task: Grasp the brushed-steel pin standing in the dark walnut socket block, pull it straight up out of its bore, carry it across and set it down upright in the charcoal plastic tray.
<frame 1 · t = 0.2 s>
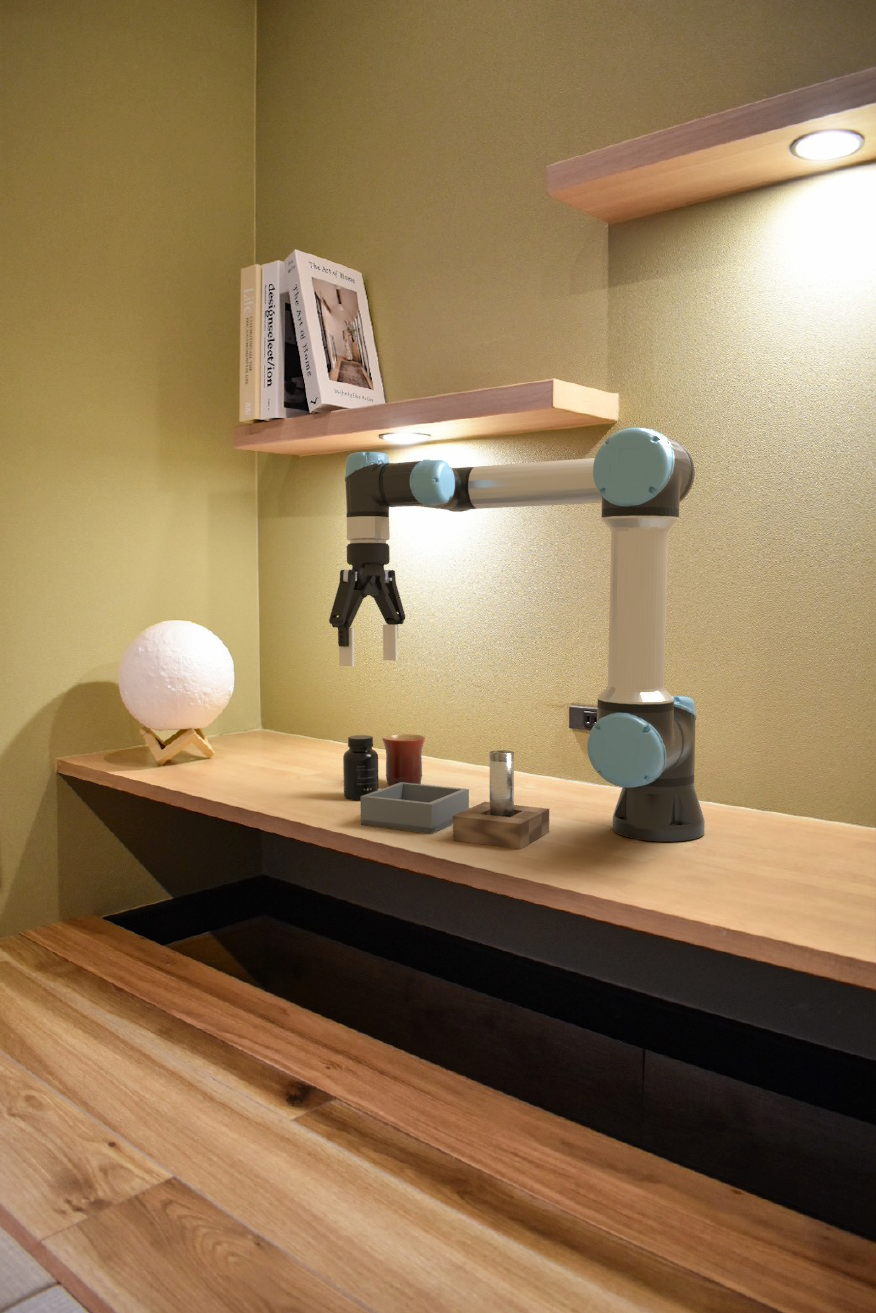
hand: (369, 663, 180), 28 cm above the worktop, fingers open, 13 cm apart
mug: (401, 786, 210), on the worktop
supplement bottle: (361, 798, 198), on the worktop
pin: (501, 794, 167), in the socket block
socket block: (501, 836, 168), on the worktop
tray: (415, 820, 179), on the worktop
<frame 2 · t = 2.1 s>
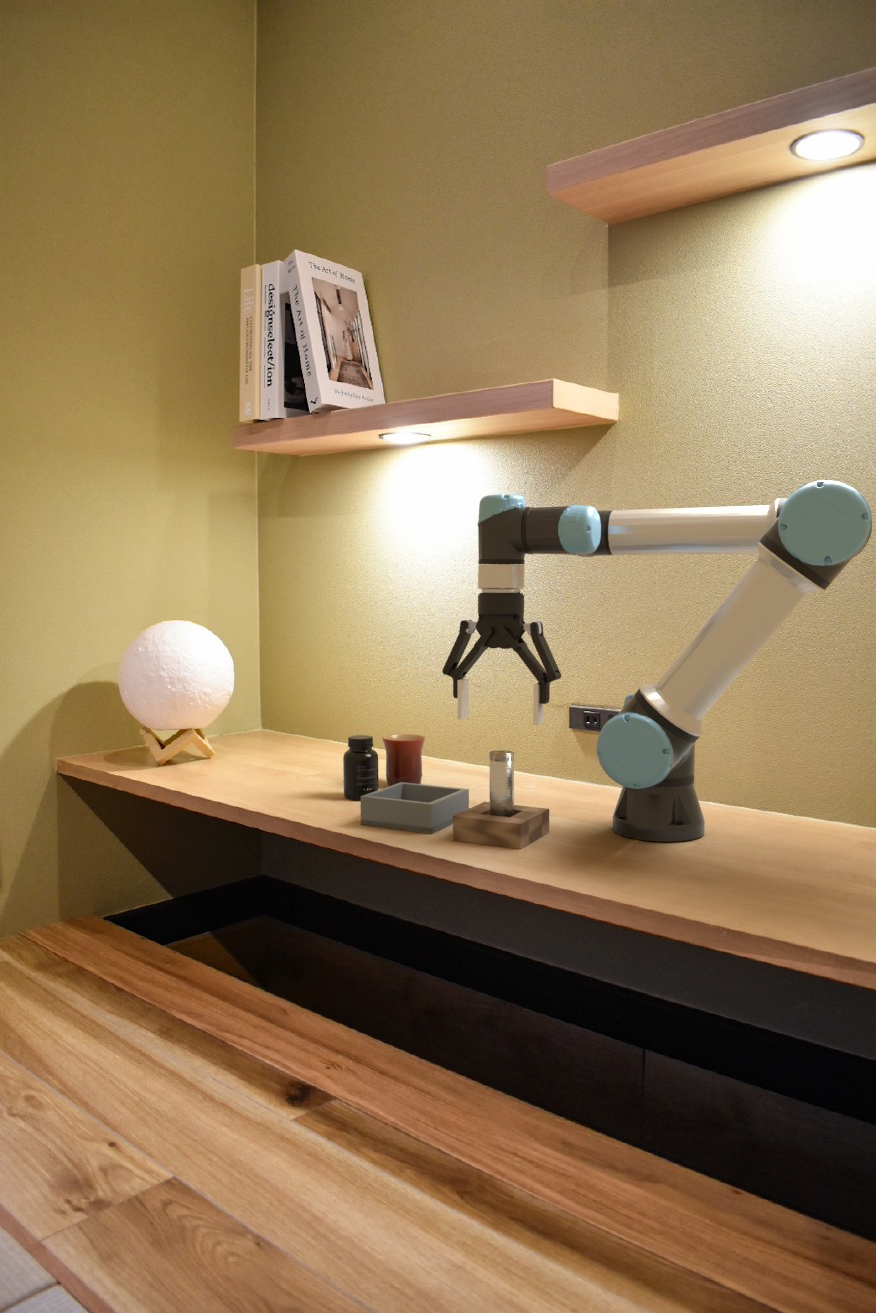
hand: (500, 721, 167), 19 cm above the worktop, fingers open, 13 cm apart
nothing on the worktop moved.
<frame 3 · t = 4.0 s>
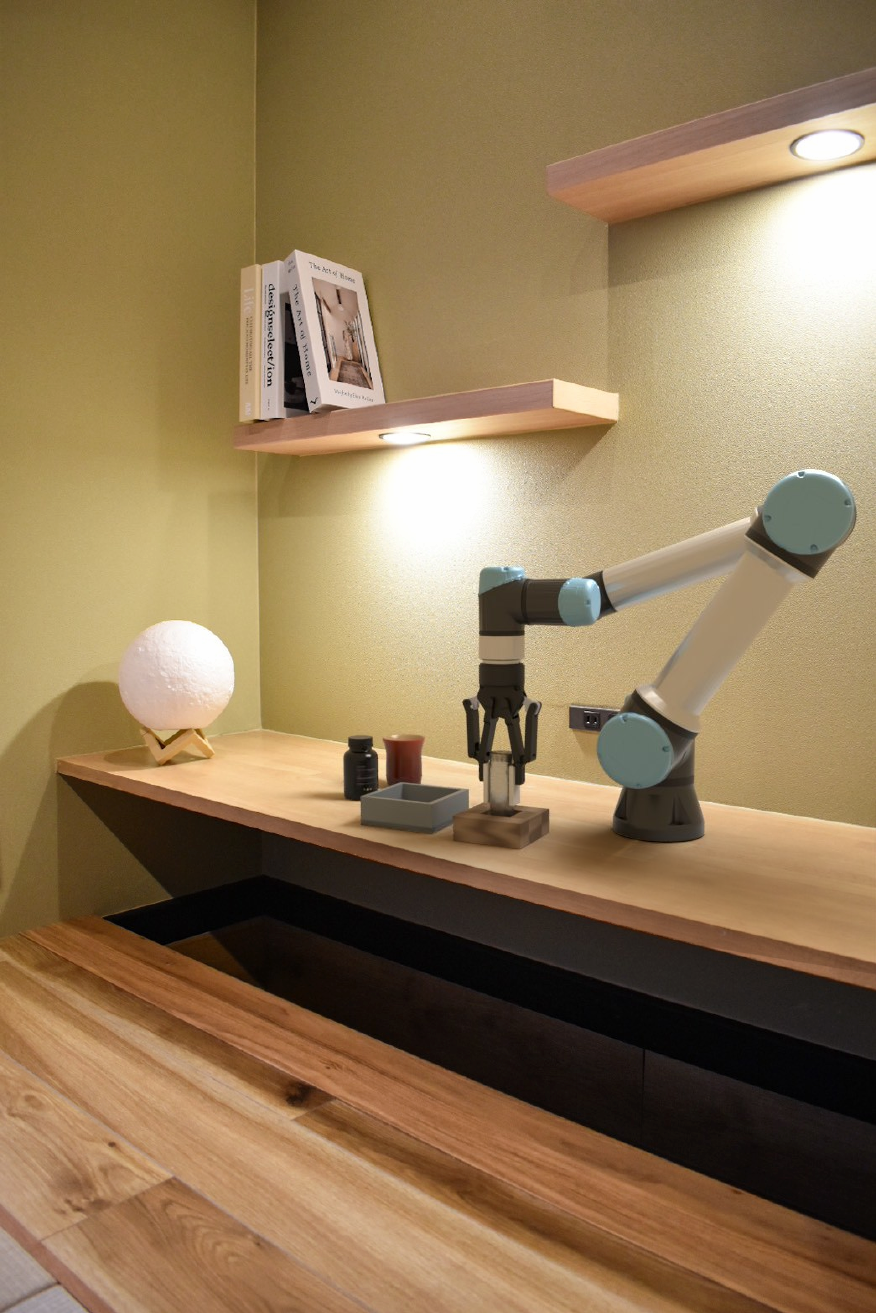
hand: (501, 802, 167), 6 cm above the worktop, fingers closed on pin, 4 cm apart
pin: (501, 794, 167), in the socket block, touching gripper
everything else where it was.
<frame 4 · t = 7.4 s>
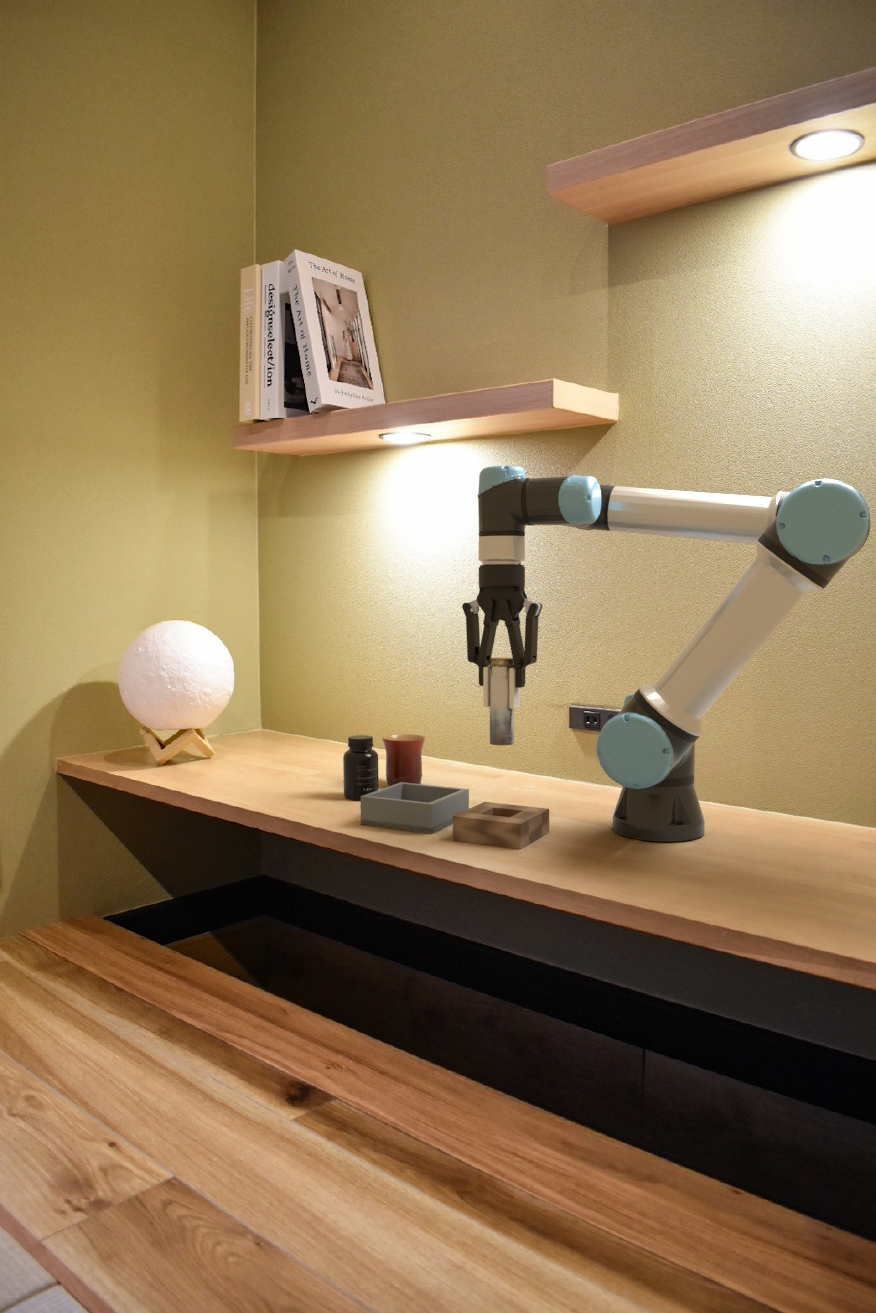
hand: (501, 706, 166), 22 cm above the worktop, fingers closed on pin, 4 cm apart
pin: (501, 701, 166), point 22 cm above the worktop, touching gripper
everything else where it was.
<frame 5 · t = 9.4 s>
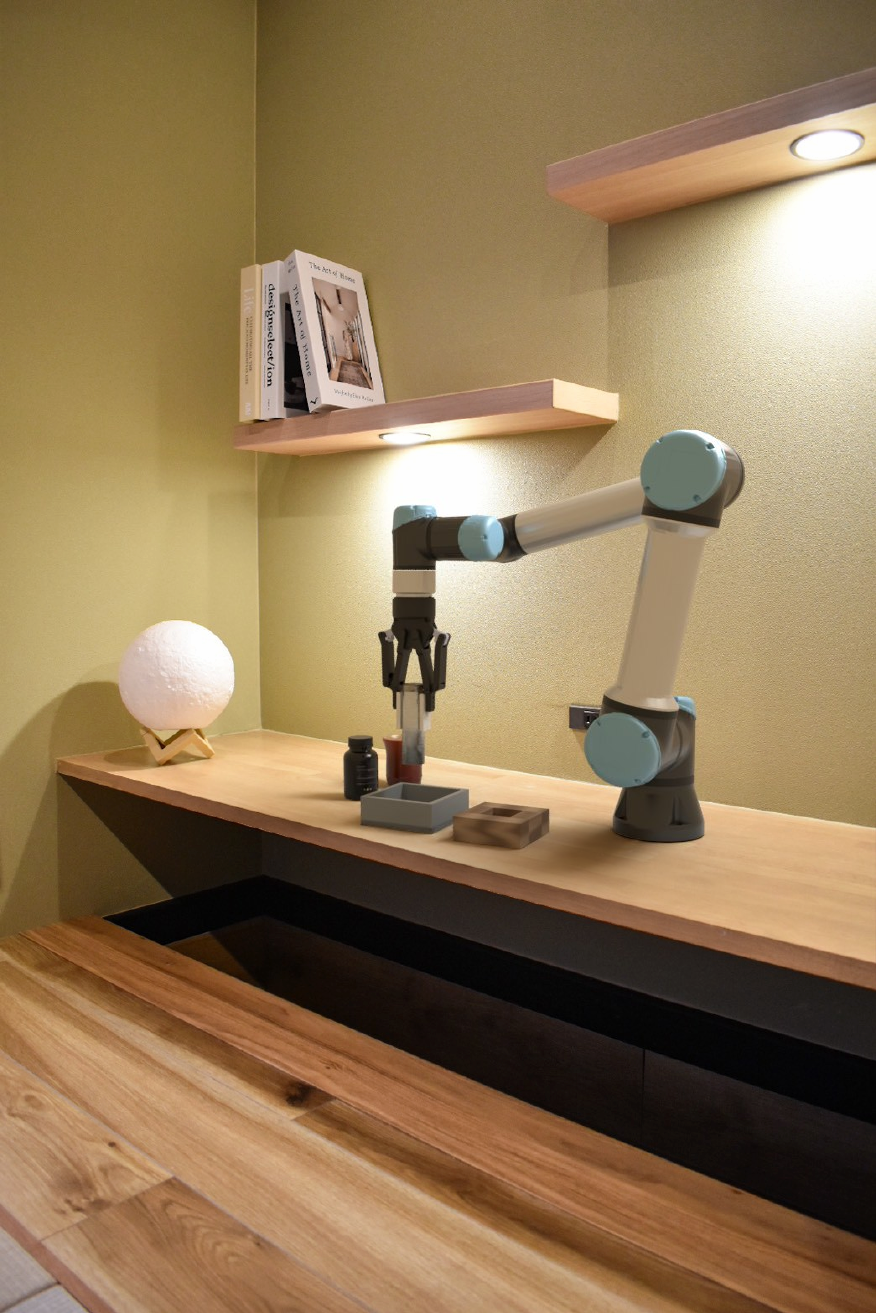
hand: (413, 728, 178), 16 cm above the worktop, fingers closed on pin, 4 cm apart
pin: (413, 723, 178), point 17 cm above the worktop, touching gripper
everything else where it was.
when the fingers open (8 cm above the worktop, at t = 11.0 s): pin stays where it is, resting on tray.
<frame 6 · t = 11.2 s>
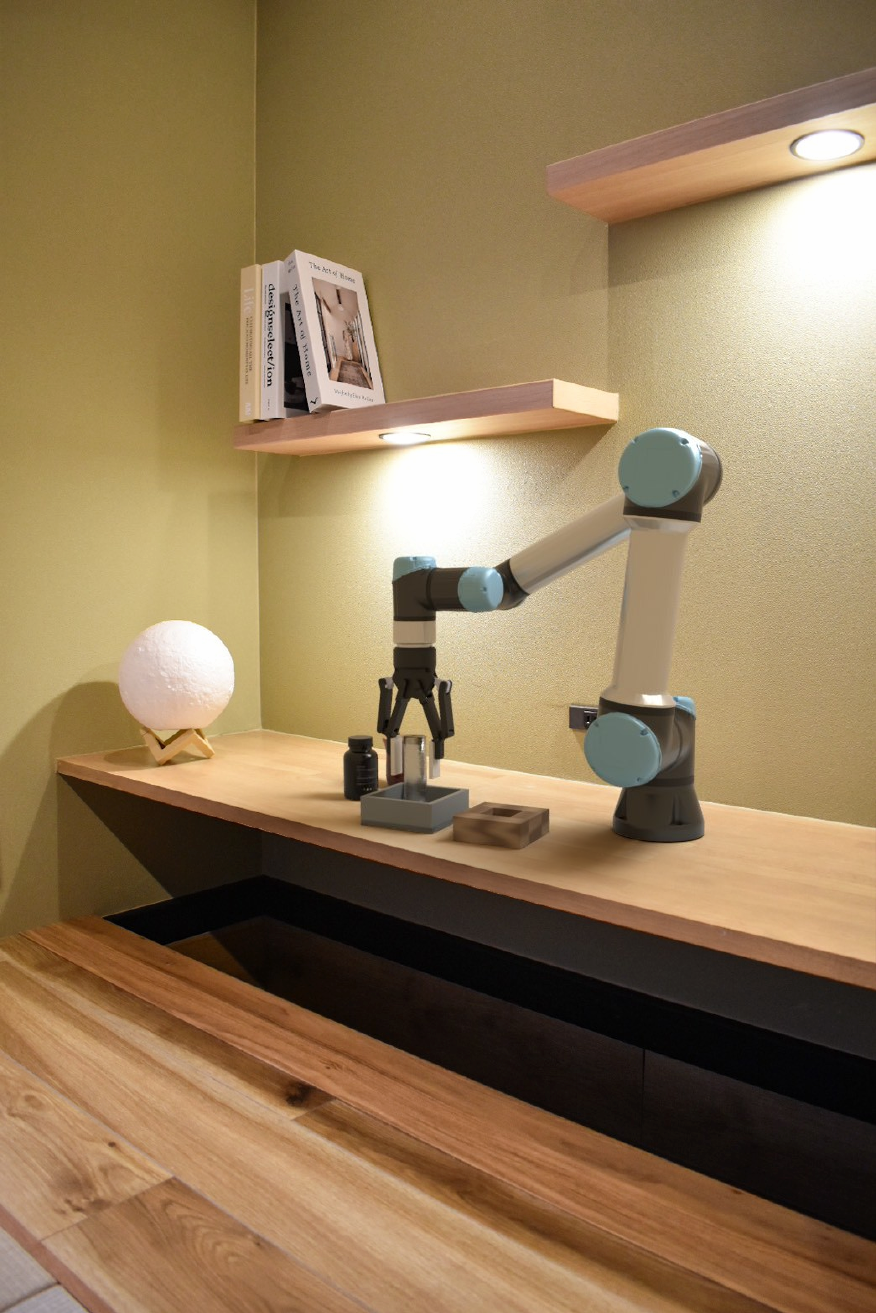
hand: (415, 775, 178), 8 cm above the worktop, fingers open, 7 cm apart
pin: (415, 775, 178), in the tray, point 8 cm above the worktop
everything else where it was.
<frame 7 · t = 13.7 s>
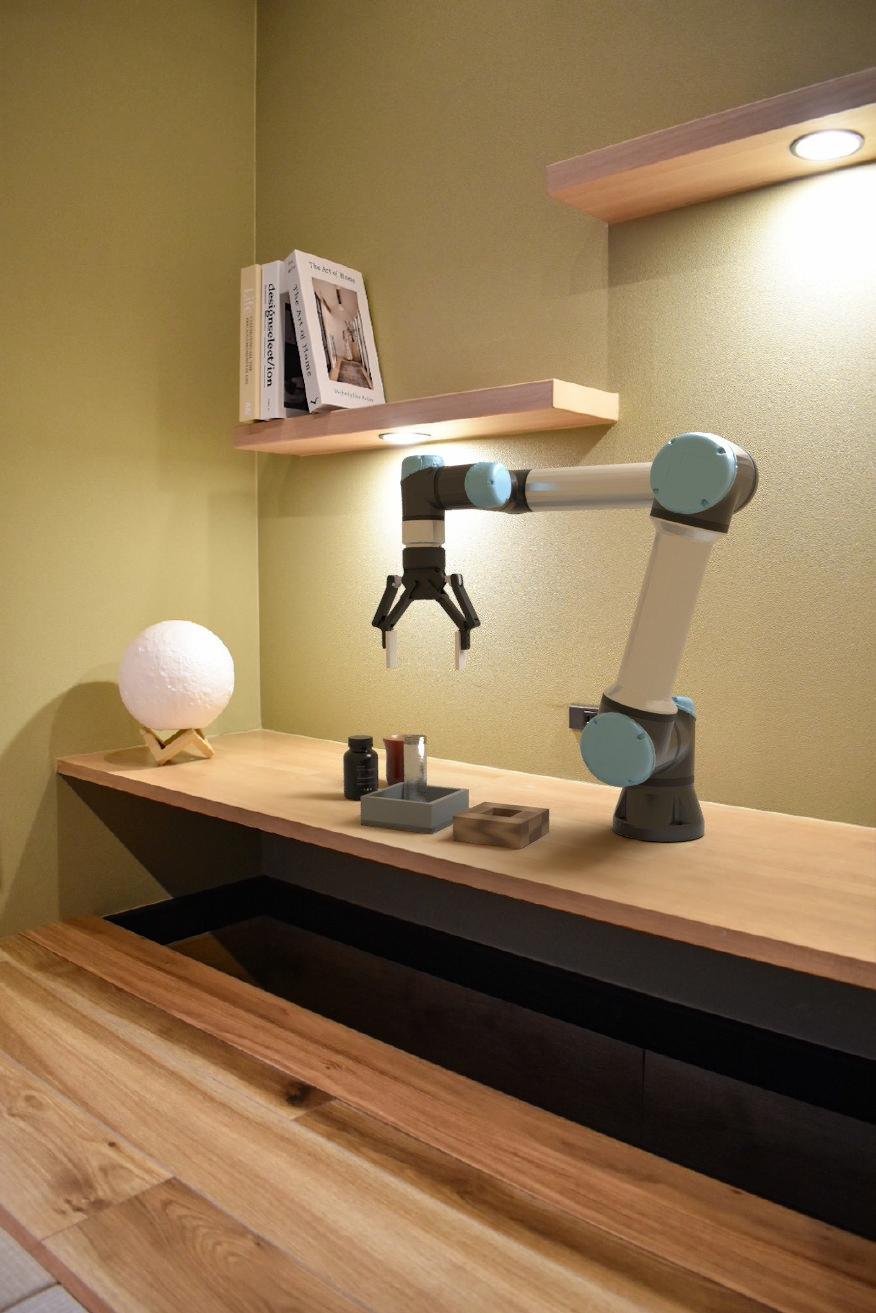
hand: (425, 668, 178), 27 cm above the worktop, fingers open, 13 cm apart
nothing on the worktop moved.
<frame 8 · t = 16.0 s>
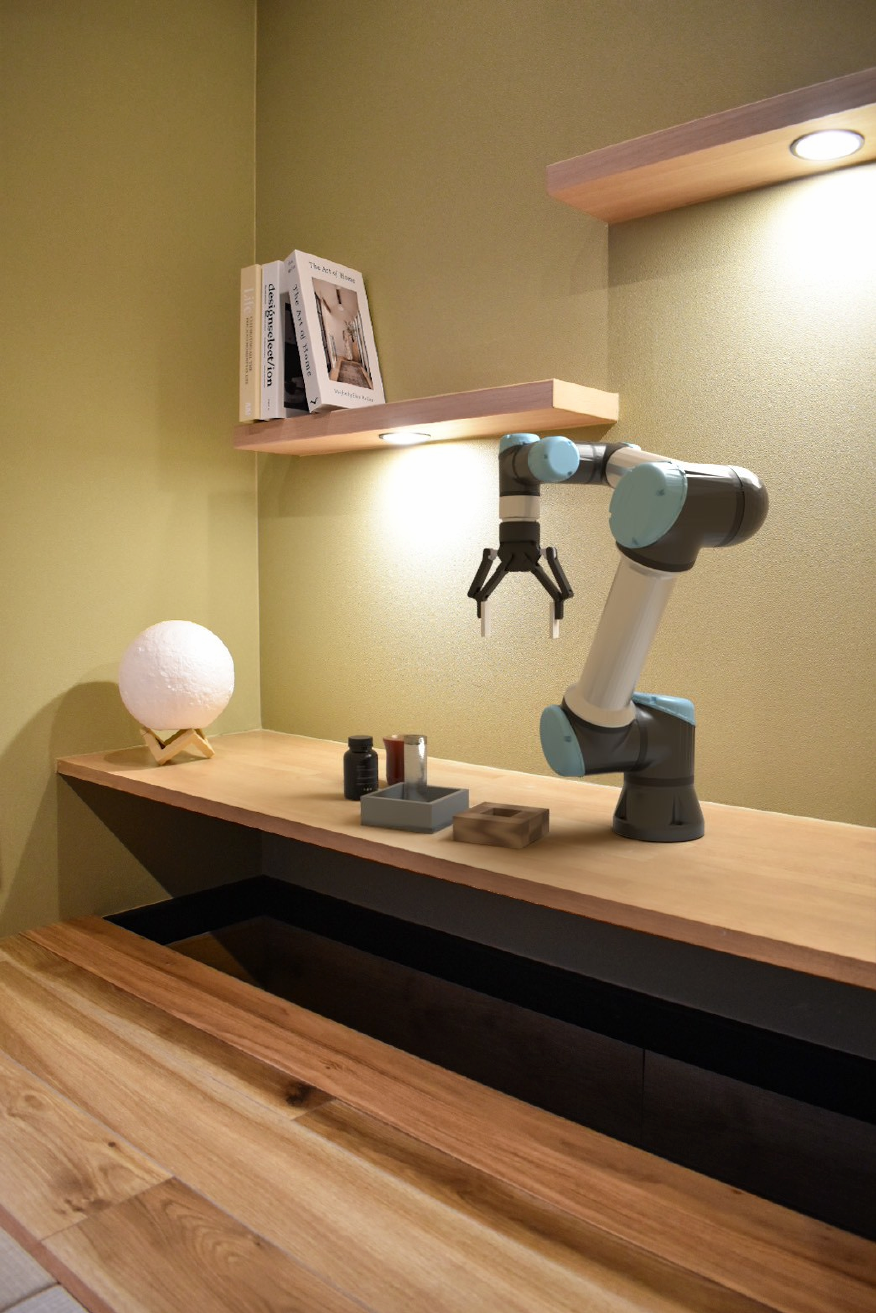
hand: (519, 637, 187), 32 cm above the worktop, fingers open, 13 cm apart
nothing on the worktop moved.
at the end: pin inside the target area on the tray (0.1 cm from its centre), point 8.0 cm above the tray's base; pin moved 18.2 cm from its start; the gripper is holding nothing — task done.
